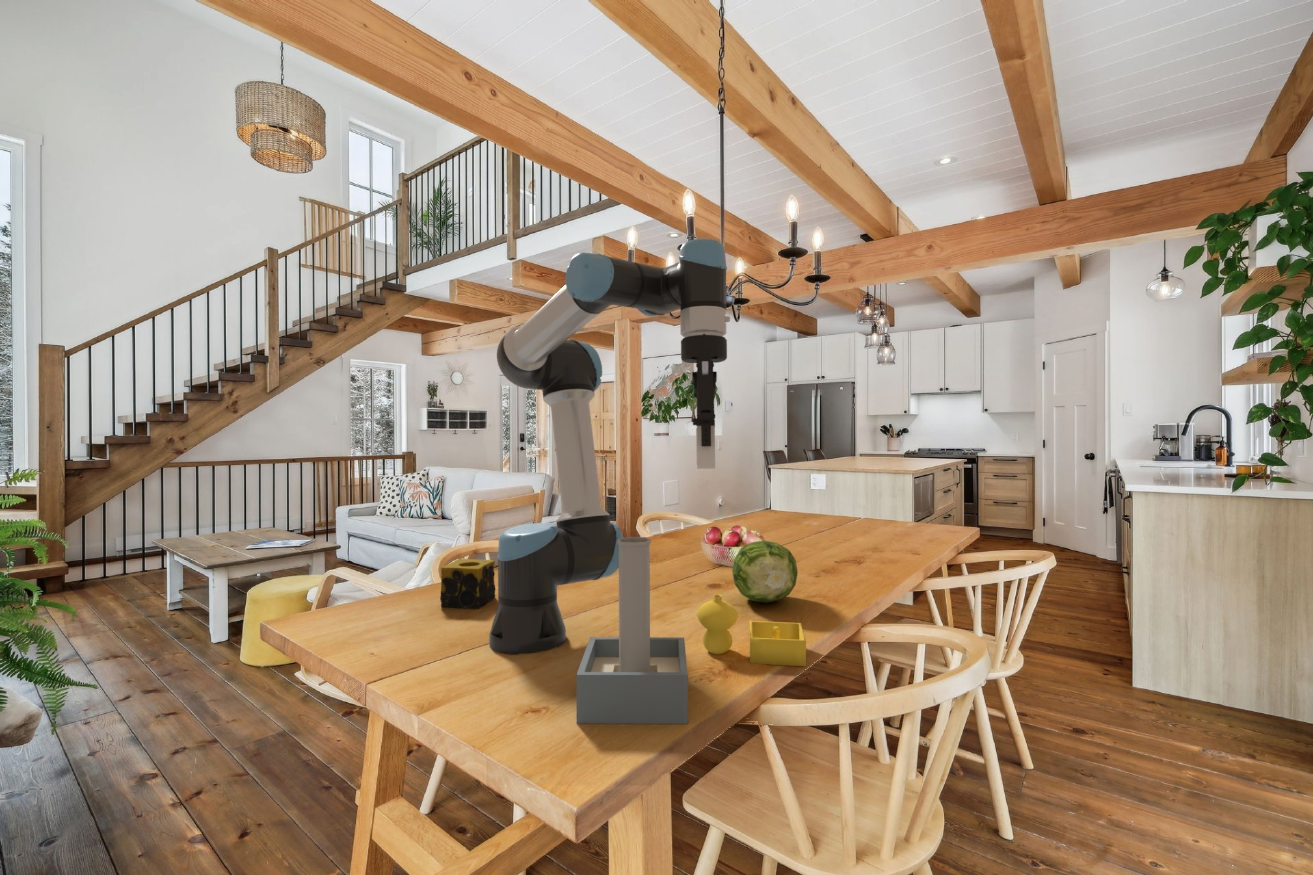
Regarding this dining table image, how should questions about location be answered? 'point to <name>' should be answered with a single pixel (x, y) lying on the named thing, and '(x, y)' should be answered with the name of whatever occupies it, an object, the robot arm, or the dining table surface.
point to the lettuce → (764, 571)
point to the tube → (634, 604)
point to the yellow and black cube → (467, 584)
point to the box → (633, 685)
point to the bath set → (753, 635)
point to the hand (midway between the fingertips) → (705, 466)
